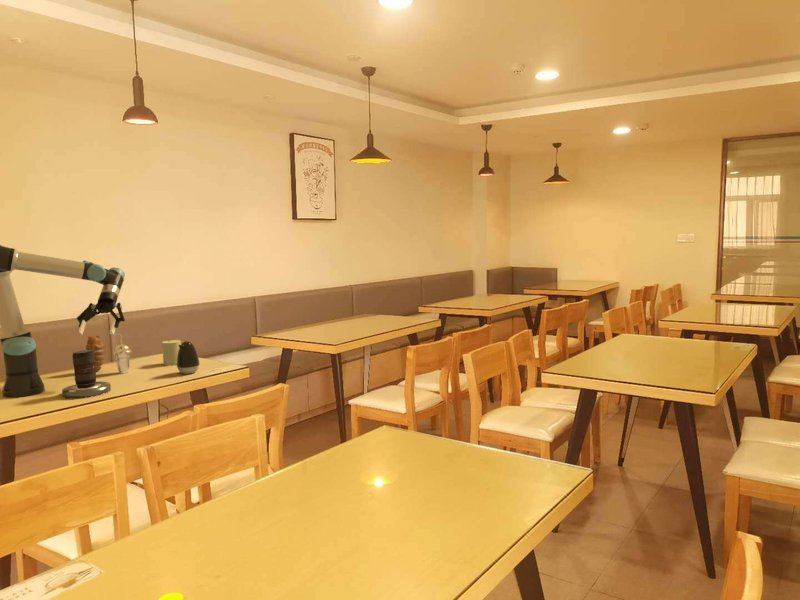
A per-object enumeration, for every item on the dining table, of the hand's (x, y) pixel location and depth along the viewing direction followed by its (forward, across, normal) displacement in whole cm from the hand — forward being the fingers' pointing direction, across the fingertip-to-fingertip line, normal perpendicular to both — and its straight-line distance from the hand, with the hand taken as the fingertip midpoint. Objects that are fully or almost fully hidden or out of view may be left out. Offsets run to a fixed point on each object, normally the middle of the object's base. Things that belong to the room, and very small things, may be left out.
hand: (96, 333), depth 261 cm
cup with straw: (0, -1, -33) cm, 33 cm away
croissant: (-4, +14, -37) cm, 39 cm away
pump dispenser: (+4, -34, -27) cm, 44 cm away
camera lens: (+24, -1, -5) cm, 25 cm away
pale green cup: (-12, -19, -44) cm, 50 cm away
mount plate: (+26, -1, -6) cm, 27 cm away
